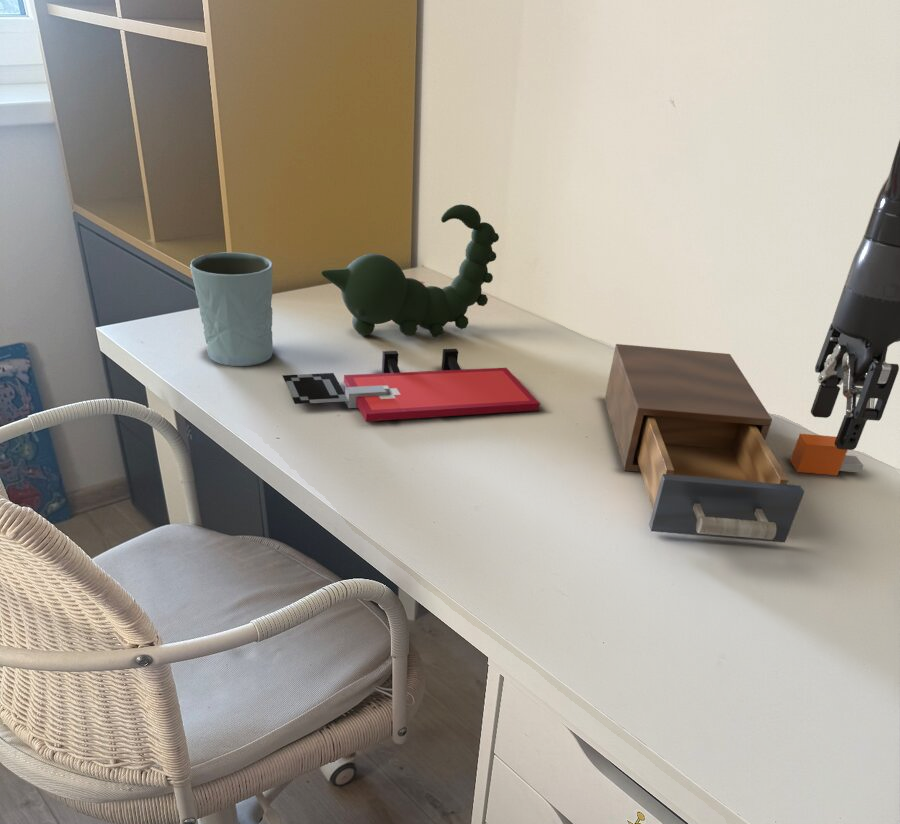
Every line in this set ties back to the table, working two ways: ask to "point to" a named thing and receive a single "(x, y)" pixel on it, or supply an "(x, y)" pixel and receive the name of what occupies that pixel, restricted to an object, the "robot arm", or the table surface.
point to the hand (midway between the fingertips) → (831, 431)
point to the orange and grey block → (822, 456)
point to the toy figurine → (417, 285)
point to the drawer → (714, 480)
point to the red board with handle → (417, 390)
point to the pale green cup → (235, 306)
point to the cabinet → (676, 392)
